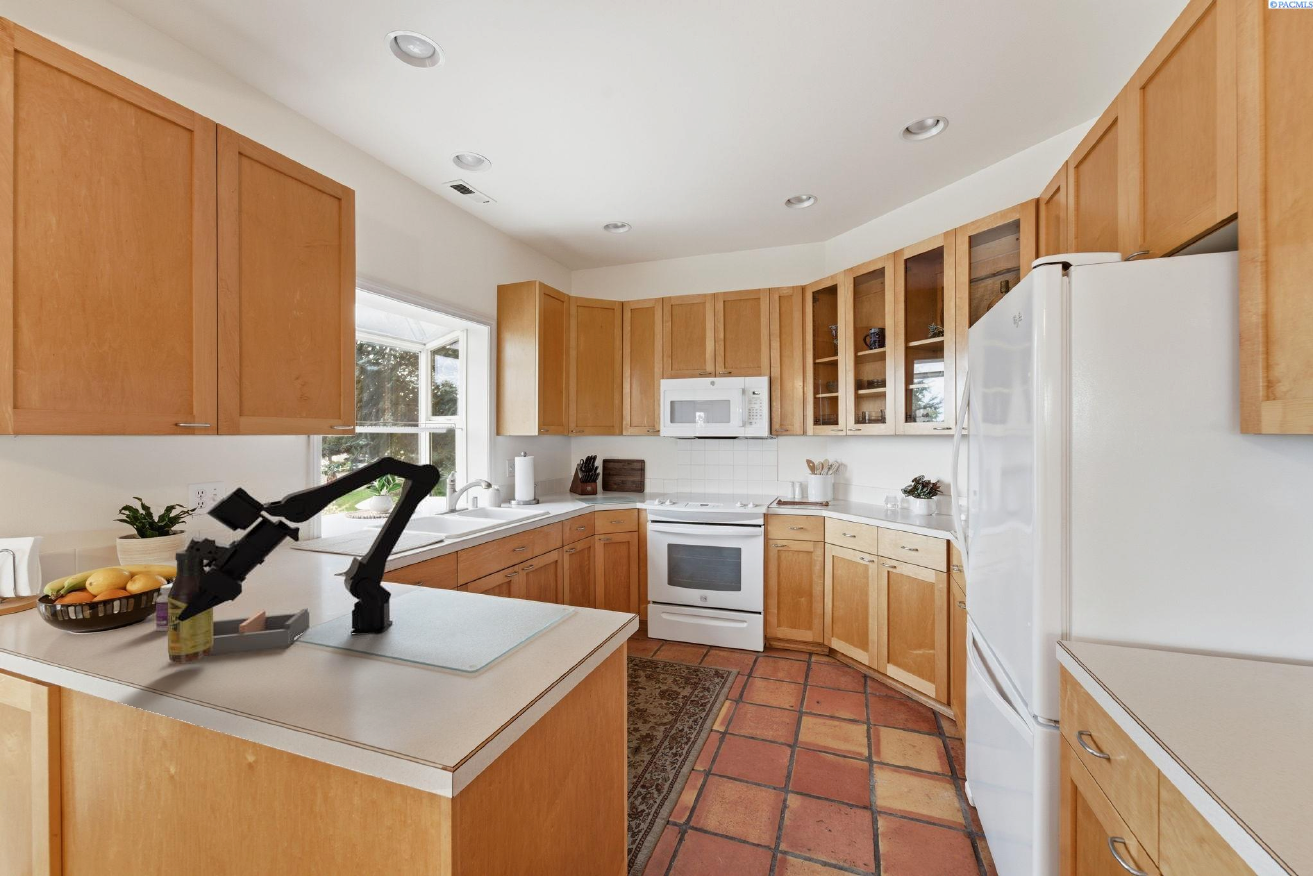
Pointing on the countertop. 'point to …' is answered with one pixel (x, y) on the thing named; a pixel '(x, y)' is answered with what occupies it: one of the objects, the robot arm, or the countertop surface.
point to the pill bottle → (162, 608)
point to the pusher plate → (254, 623)
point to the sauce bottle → (195, 632)
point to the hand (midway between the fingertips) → (180, 615)
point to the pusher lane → (258, 633)
